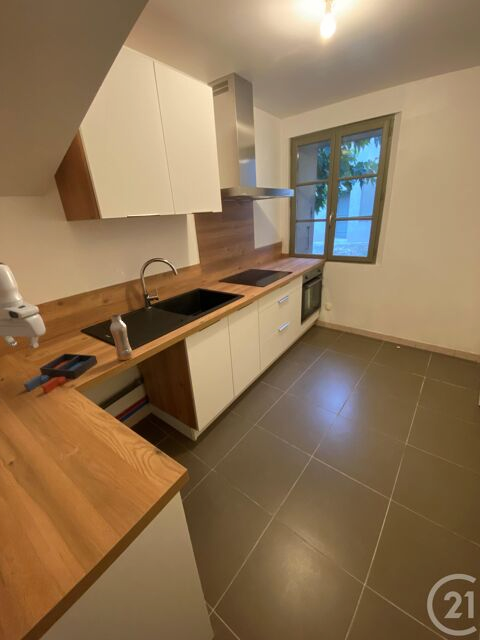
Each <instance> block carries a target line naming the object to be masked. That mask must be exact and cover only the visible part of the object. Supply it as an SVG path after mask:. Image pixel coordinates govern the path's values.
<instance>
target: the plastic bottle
mask: <svg viewBox="0 0 480 640" xmlns="http://www.w3.org/2000/svg"><path fill="white" fill-rule="evenodd" d="M110 319H111V324H110V327H109V330H110V332H111V335H112V337H113V340H114V344H115V354H116V357H117V359H119V360H121V361H125V360H129V359H131V358H132V356H133V349H132V347H131V345H130V341H129V338H128V328H127V324H126V323H125V322H124V321H123V320H122V317H121V314H119V313H117V314H112V315H111V316H110Z"/></svg>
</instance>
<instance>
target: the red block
mask: <svg viewBox="0 0 480 640" xmlns="http://www.w3.org/2000/svg"><path fill="white" fill-rule="evenodd" d="M66 383H67V378H65V377H52V379H49V381H48V382H46V383H43V384H42V385H41V388H42V391H43V393H44V394H49V393H50V392H52V391H53V390H54V389H56V388H58V387H59V386H62V385H65V384H66Z"/></svg>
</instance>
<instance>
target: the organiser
mask: <svg viewBox="0 0 480 640" xmlns="http://www.w3.org/2000/svg"><path fill="white" fill-rule="evenodd" d="M97 364H98V360H97V357H96V355H91V354H78V353H77V354H76V353H63V354H61V355H60V356H58V357H56V358H55V359H53V360H50V361H49V362H48V363H46V364H44V365H43V366H40V368H39V371H40V373H41V376H42V375H48V376H50V377H49V378H55V377H57V378H58V377H65V378H66V379H69V380H71V379H72V380H76V379H78V378H79V377H80V376H82V375H83V374H85V373H86V372H87V371H88V370H90V369H92V368H93V367H94V366H95V365H97Z"/></svg>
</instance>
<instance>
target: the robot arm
mask: <svg viewBox="0 0 480 640" xmlns="http://www.w3.org/2000/svg"><path fill="white" fill-rule="evenodd" d="M39 312H40V309H39V307H38V306H37V305H35V304H31V303H30V302H27V301H24V298H23V296H22V295H21V293H20V292H19V285H18V283H17V280H16V278H15V275H14V274H13V272H12V270H11V268H10V267H9V266H8V265H7V264H6V263H4V262H1V261H0V336H1V337H2V338H3V340H5V341H6V342H7V343H8V345H9V347H13V348H14V347H16V346H18V345H19V343H18V341H17V340H16V339H14V338H13V337H16V338H17V337H19V338H28V339H29V340H30V343H29V347H30V348H31V349H37V348H39V346H40V345H39V338H40V337H42V336H44V335H45V334H46V331H47V329H46V325H45V323H44V320H43V318H42V317H41V315H40V314H39Z"/></svg>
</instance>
